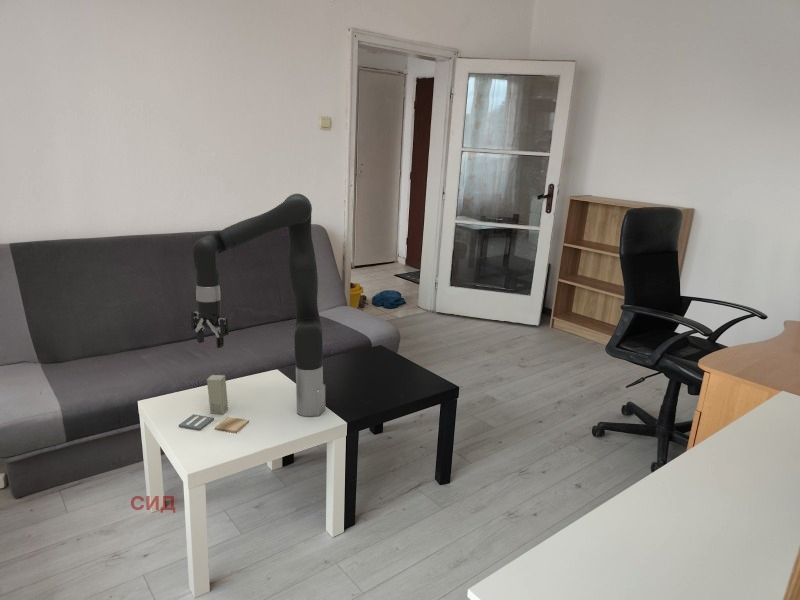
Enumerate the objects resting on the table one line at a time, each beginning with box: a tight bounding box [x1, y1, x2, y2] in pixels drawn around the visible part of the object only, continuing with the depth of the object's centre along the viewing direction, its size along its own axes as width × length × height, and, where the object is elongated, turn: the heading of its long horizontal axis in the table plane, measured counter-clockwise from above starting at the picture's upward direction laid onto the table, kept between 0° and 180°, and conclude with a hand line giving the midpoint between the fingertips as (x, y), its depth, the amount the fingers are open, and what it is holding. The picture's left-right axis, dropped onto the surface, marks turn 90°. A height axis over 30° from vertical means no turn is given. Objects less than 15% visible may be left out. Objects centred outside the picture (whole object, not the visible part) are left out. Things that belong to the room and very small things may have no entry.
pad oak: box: [213, 416, 250, 434], centre depth 185 cm, size 8×8×1 cm
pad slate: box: [178, 414, 215, 432], centre depth 186 cm, size 8×8×1 cm
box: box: [206, 374, 229, 415], centre depth 194 cm, size 5×4×13 cm
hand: (210, 344), depth 187 cm, fingers open, 8 cm apart
